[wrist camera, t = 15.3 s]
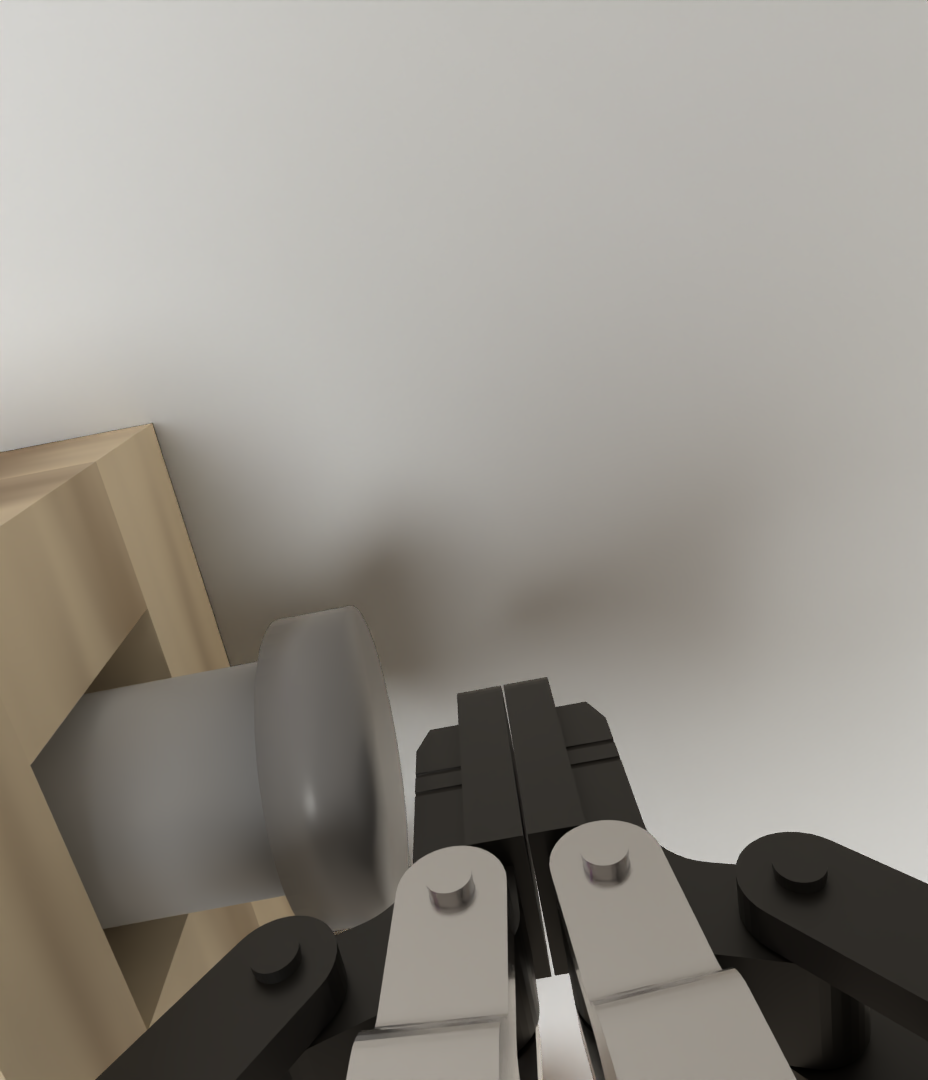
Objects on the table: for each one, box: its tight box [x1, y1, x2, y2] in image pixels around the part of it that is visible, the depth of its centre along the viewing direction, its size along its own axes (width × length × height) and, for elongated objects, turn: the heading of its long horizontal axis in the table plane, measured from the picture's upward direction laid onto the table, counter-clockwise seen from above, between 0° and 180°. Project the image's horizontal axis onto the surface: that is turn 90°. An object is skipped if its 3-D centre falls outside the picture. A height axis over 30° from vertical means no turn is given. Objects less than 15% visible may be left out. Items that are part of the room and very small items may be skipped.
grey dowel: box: [30, 606, 409, 931], centre depth 13 cm, size 11×5×5 cm, turn 100°
